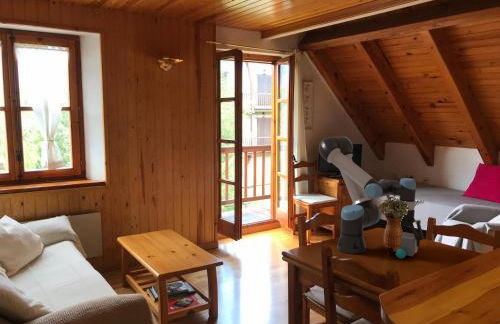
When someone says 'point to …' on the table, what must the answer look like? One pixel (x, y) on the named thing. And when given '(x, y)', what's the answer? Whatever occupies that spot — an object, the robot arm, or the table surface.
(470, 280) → the table surface
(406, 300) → the table surface
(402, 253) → the ball
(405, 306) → the table surface
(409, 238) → the dark grey block
